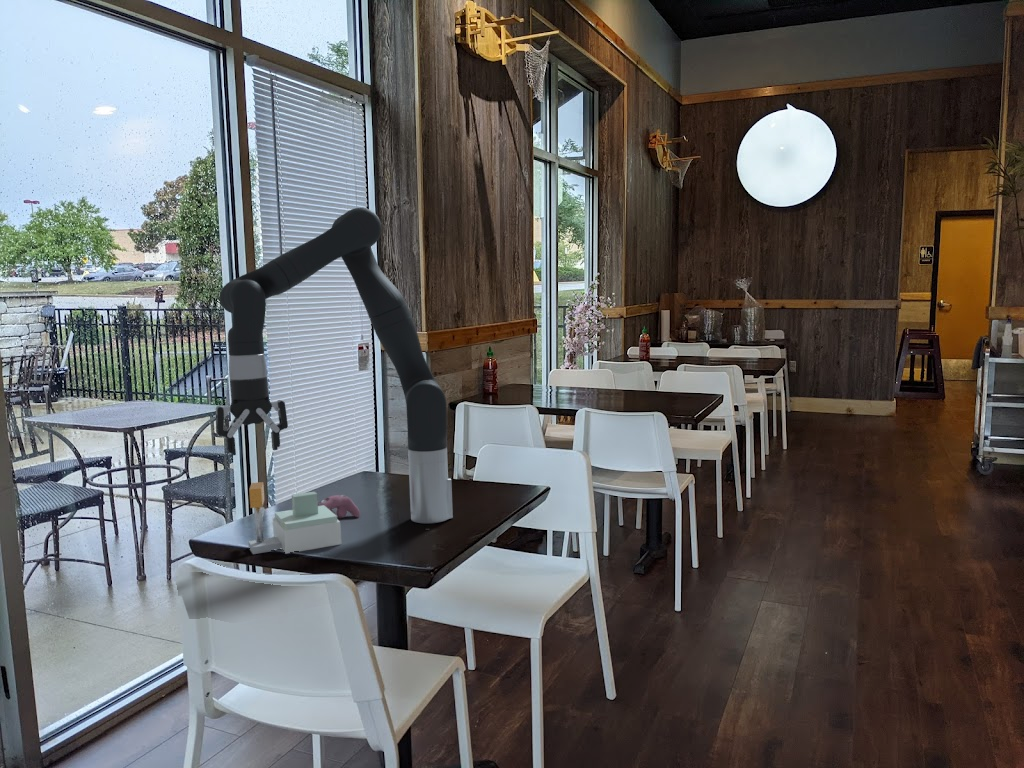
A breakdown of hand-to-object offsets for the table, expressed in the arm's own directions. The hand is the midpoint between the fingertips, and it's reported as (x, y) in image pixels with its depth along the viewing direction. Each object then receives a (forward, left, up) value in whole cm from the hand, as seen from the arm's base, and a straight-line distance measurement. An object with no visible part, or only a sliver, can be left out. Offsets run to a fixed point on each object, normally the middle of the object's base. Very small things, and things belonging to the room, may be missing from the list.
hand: (254, 452), depth 170 cm
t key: (0, -2, -19) cm, 20 cm away
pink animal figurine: (-21, -14, -22) cm, 33 cm away
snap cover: (-10, 0, -16) cm, 19 cm away
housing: (-7, 0, -21) cm, 22 cm away
